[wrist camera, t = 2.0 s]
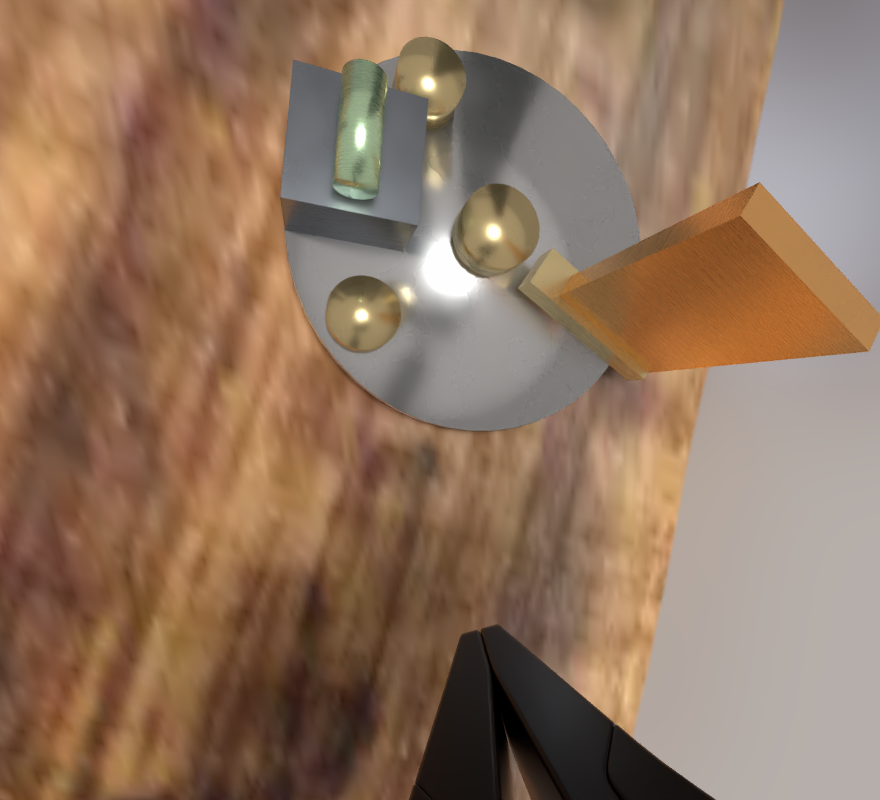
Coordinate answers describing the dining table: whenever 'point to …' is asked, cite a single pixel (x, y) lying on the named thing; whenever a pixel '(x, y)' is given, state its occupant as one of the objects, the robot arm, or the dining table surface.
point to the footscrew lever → (681, 286)
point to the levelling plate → (442, 230)
